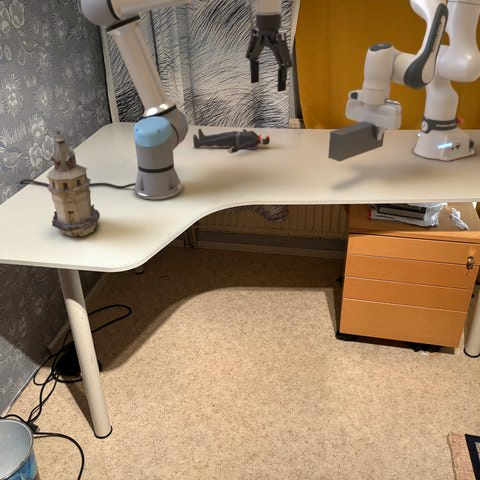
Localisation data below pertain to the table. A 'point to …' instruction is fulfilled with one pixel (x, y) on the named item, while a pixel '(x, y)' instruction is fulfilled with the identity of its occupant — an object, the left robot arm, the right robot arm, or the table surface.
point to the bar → (353, 141)
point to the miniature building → (70, 193)
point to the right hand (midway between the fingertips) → (370, 137)
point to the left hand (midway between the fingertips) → (267, 86)
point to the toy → (231, 140)
